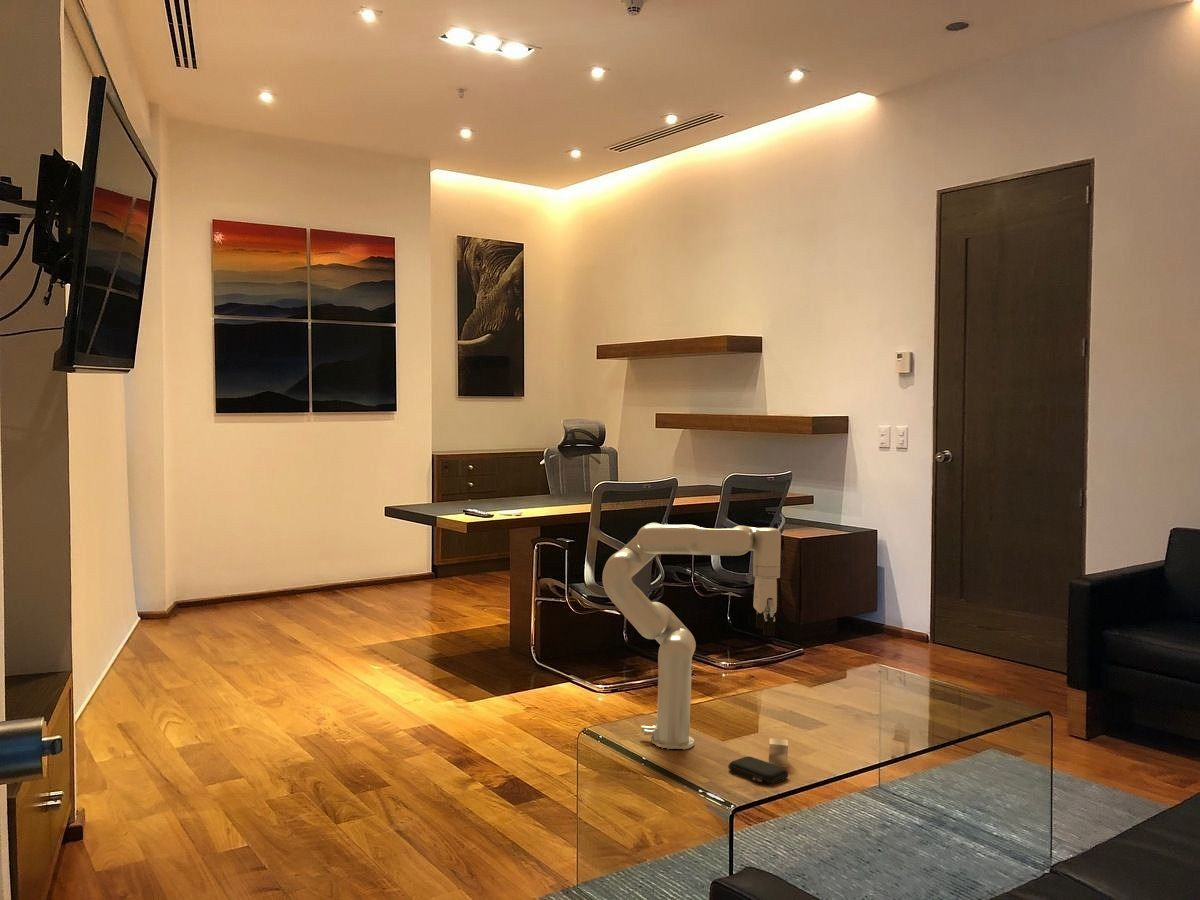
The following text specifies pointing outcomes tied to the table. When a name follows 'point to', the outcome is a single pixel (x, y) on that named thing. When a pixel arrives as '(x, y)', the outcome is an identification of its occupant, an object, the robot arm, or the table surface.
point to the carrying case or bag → (758, 770)
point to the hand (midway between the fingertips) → (765, 631)
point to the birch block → (778, 752)
